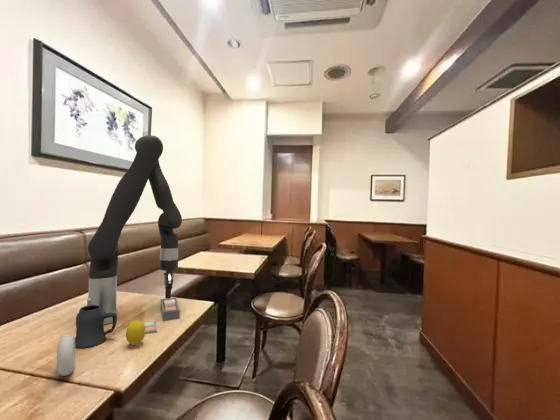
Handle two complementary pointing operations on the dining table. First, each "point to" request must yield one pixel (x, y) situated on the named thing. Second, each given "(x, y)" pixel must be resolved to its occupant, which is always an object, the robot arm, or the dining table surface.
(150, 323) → the tile
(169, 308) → the key terracotta
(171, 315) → the keypad
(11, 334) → the dining table surface
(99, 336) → the mug
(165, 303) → the key cream
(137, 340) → the lemon
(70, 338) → the donut
